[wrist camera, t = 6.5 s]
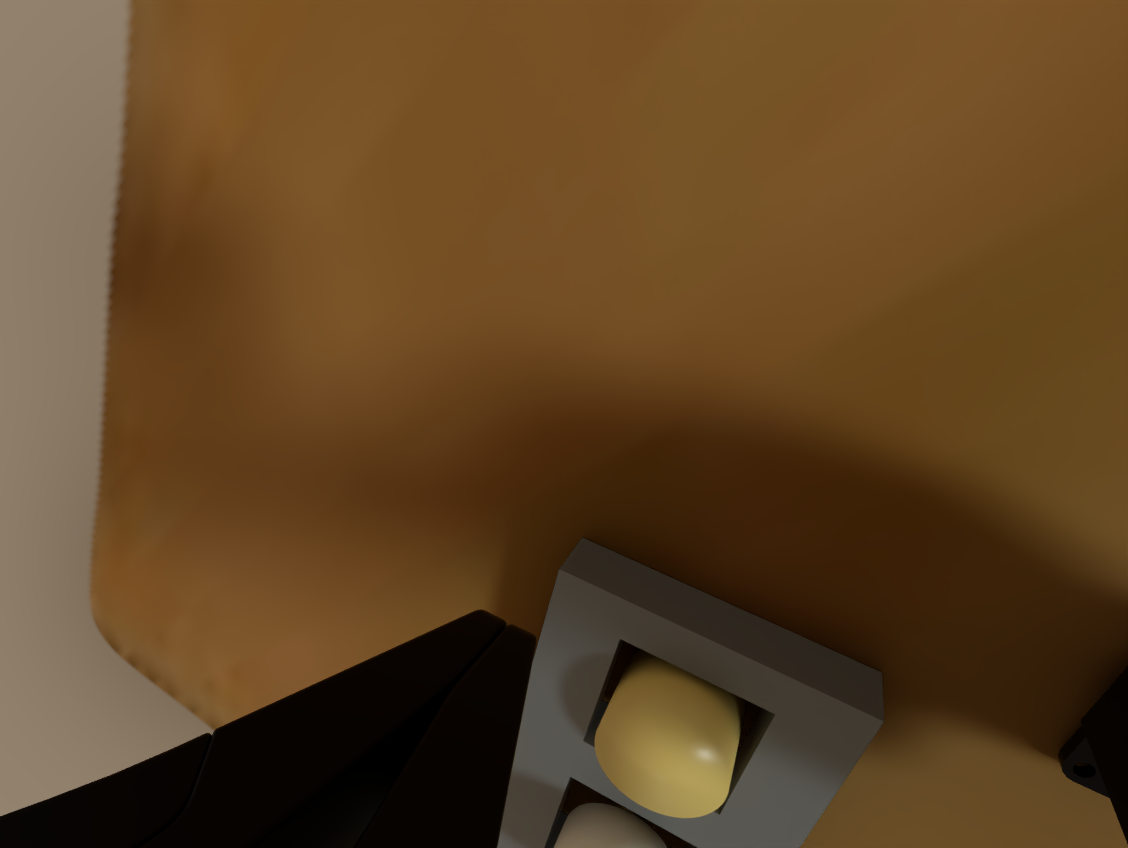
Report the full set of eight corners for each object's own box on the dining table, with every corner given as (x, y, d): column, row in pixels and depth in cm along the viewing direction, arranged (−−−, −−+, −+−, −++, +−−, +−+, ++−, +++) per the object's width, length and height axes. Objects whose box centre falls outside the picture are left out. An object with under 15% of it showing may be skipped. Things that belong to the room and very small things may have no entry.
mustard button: (764, 680, 21) (750, 754, 18) (721, 763, 23) (703, 839, 20) (642, 623, 22) (613, 684, 20) (610, 706, 24) (580, 772, 21)
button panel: (882, 672, 20) (884, 721, 18) (668, 1008, 30) (656, 1059, 28) (582, 537, 22) (559, 568, 21) (478, 888, 32) (456, 929, 31)
